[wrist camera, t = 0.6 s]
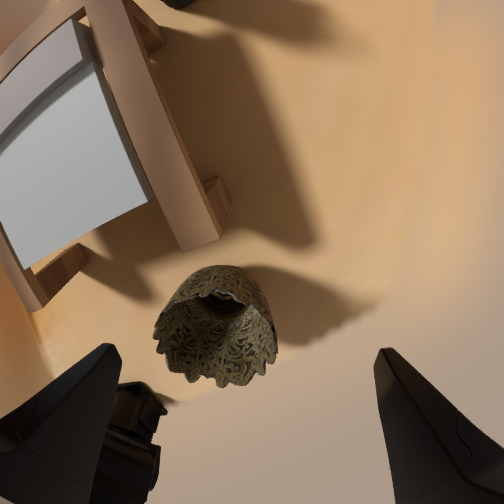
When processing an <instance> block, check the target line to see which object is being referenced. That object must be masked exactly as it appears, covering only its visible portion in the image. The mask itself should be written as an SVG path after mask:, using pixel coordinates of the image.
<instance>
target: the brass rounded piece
mask: <svg viewBox="0 0 504 504" xmlns="http://www.w3.org/2000/svg"><path fill="white" fill-rule="evenodd" d="M154 328H155V329H154V334H153V339H155V340H159V339H160V340H159V344H158V346H157V349H156V352H157V353H158V354H163V353H164V354H165V357H166V364H167V367H168V369H169V371H171V372H174V373H185V378H186V380H187V381H188V382H189V383H194V382H196V381H198V379H199V378H200V376H199V375H203V376H205V377H206V378H207V379H208V378H210V377H212V378H215V380H216V386H218V387H220V388H224V387H226V386H227V384H228V383H229V382H230V383H232V384H234V385H238V386H245V385H247V384H248V383H249V382H250V381H251V379H252V378H253V376H254V375H255V373H259V374H257V375H262V376H264V375H265V372H266V362H267V363H268V364H274V362H275V359H276V354H278V346H277V337H276V336H277V333H276V331H275V328H274V324H273V320H272V317H271V313H270V310H269V306H268V303H267V300H266V298H265V296H264V293H263V291H262V290H261V288H260V286H259V285H258V284H257V282H256V281H255V280H254V279H253V278H252V277H251V276H249V275H248V274H247V273H245V272H244V271H242V270H240V269H237V268H235V267H231V266H226V265H214V266H209V267H205V268H202V269H200V270H198V271H196V272H195V273H193V274H192V275H191V276H189V277H188V278H187V279H186V280H185V281H184V282H183V283H182V284H181V285H180V287H179V288H178V289H177V291H176V292H175V294H174V295H173V296H172V298H171V299H170V301H169V302H168V304H167V305H166V307H165V308H164V309H163V310H162V312H161V314H160V315H159V317H158V319H157V321H156V323H155V326H154ZM198 376H199V377H198ZM197 377H198V378H197ZM196 379H197V380H196Z"/></svg>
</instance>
